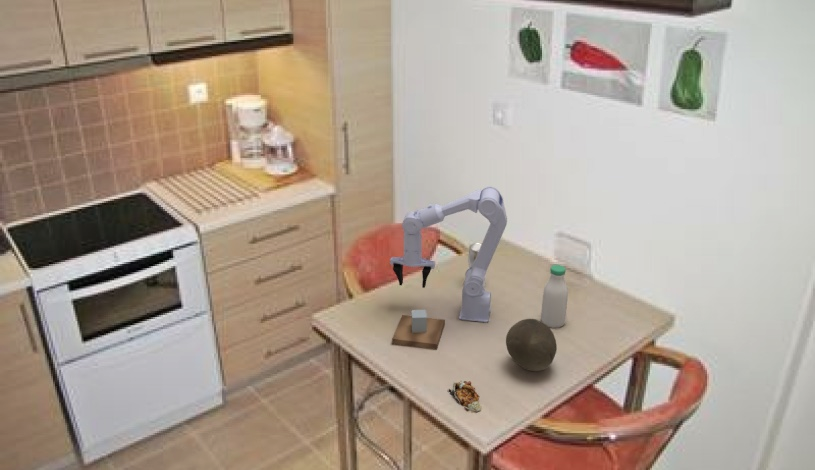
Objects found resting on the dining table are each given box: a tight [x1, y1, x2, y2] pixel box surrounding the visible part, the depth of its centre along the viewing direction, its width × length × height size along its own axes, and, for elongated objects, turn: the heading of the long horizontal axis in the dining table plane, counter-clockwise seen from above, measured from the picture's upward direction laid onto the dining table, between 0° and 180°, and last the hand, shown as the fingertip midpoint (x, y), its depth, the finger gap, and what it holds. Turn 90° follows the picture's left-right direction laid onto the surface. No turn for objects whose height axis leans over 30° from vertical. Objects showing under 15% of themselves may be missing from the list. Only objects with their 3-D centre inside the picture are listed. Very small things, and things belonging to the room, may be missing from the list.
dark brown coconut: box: [505, 318, 558, 372], centre depth 201 cm, size 14×14×15 cm
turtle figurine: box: [447, 380, 483, 414], centre depth 191 cm, size 7×12×4 cm, turn 29°
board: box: [391, 314, 446, 350], centre depth 220 cm, size 14×14×2 cm
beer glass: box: [467, 242, 487, 288], centre depth 245 cm, size 7×7×15 cm
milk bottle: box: [540, 264, 569, 329], centre depth 222 cm, size 8×8×20 cm
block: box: [411, 309, 428, 333], centre depth 218 cm, size 4×4×6 cm
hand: (412, 285), depth 229 cm, fingers open, 7 cm apart
